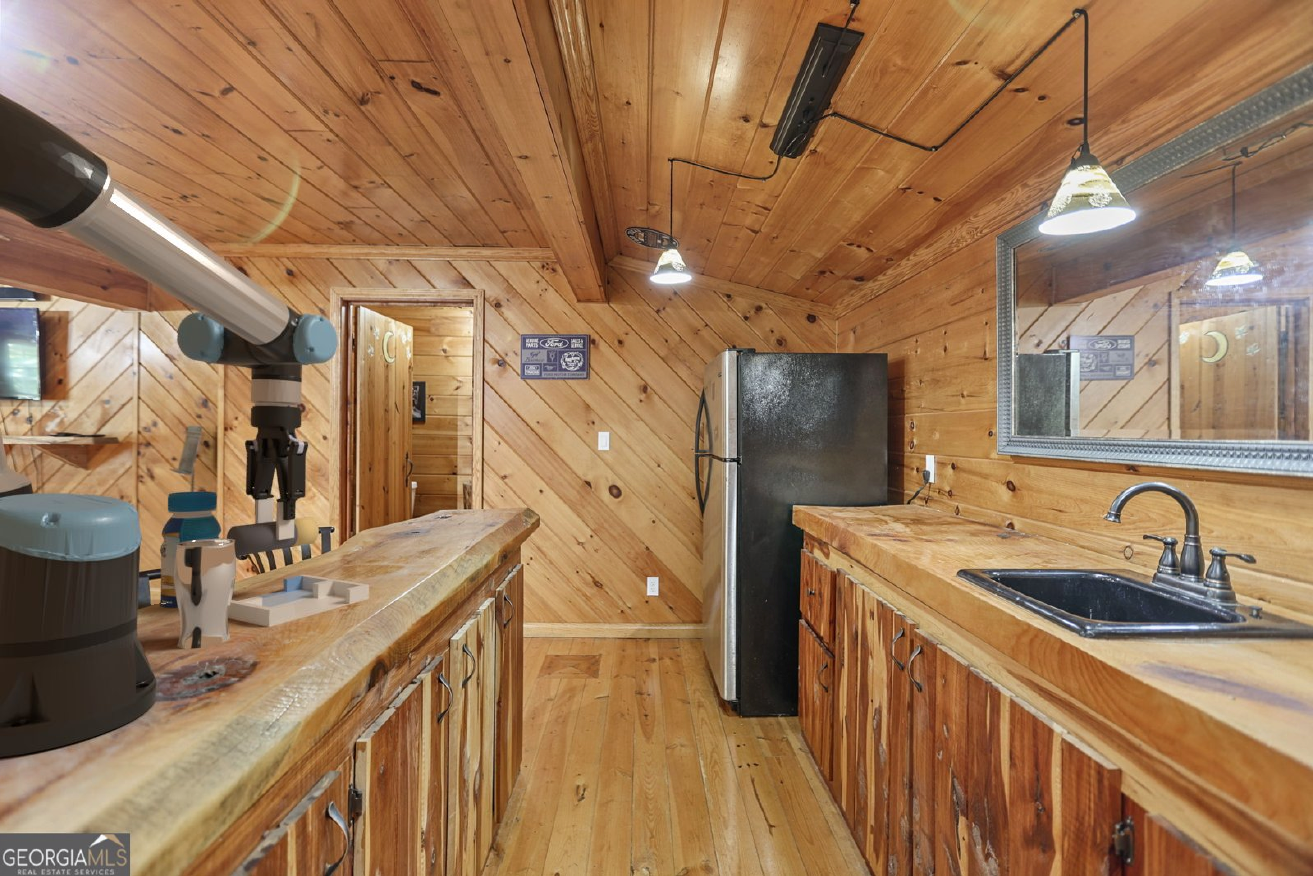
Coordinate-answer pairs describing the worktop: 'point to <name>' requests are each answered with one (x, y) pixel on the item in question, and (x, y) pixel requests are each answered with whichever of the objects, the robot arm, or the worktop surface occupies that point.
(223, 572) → the beer glass
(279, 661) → the worktop surface
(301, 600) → the beige holder tray
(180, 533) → the beverage bottle
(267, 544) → the battery-shaped cylinder
